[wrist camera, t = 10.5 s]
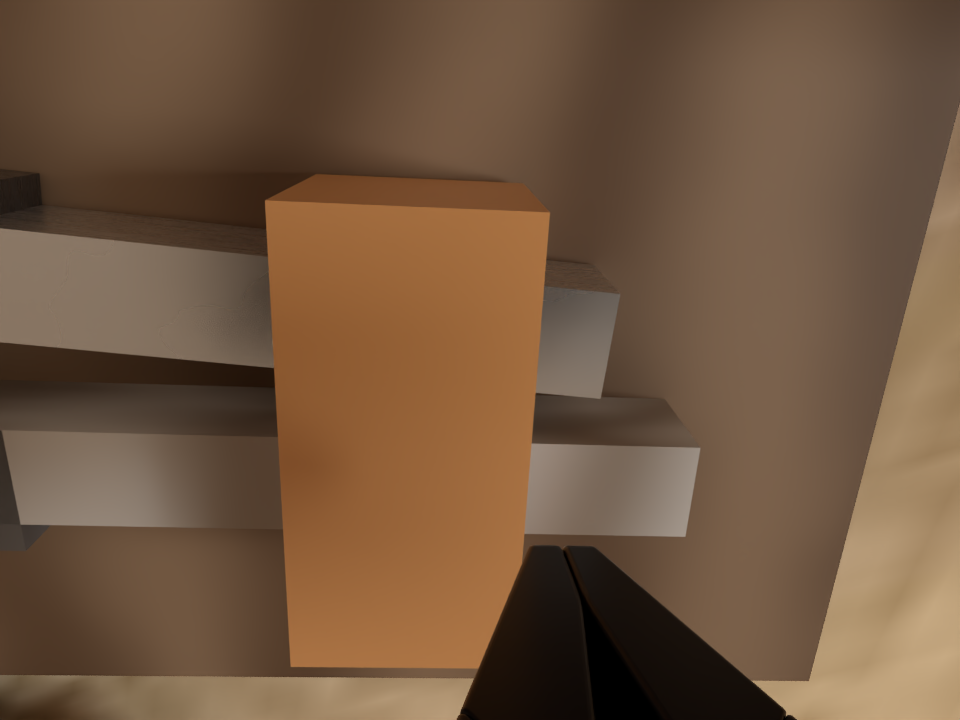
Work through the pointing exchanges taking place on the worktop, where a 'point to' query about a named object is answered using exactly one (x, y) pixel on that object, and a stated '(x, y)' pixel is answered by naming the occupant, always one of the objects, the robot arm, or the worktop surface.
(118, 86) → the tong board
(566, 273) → the bar
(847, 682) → the worktop surface
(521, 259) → the orange rectangular block
